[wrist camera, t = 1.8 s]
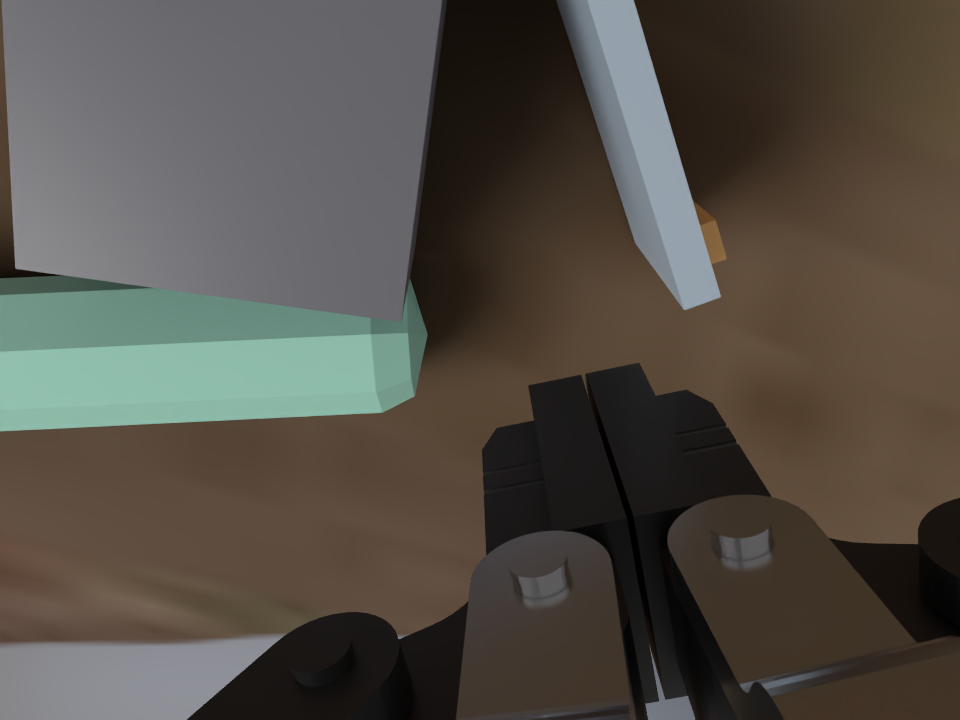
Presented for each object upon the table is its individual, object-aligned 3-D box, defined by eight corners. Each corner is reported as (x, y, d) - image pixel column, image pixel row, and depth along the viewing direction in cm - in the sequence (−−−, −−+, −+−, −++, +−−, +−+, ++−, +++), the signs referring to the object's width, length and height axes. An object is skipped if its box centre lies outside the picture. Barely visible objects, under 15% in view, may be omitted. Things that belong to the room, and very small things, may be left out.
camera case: (114, -295, 23) (-45, -431, 16) (476, -227, 24) (482, -327, 17) (116, 209, 29) (-2, 279, 21) (414, 252, 29) (398, 333, 22)
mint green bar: (421, 329, 24) (-484, 372, 24) (433, 461, 28) (-336, 499, 28) (421, 208, 28) (-348, 242, 28) (432, 338, 33) (-237, 369, 32)
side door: (478, -225, 24) (485, -313, 17) (543, -254, 24) (574, -355, 17) (632, 243, 29) (682, 314, 23) (686, 223, 29) (752, 288, 22)
